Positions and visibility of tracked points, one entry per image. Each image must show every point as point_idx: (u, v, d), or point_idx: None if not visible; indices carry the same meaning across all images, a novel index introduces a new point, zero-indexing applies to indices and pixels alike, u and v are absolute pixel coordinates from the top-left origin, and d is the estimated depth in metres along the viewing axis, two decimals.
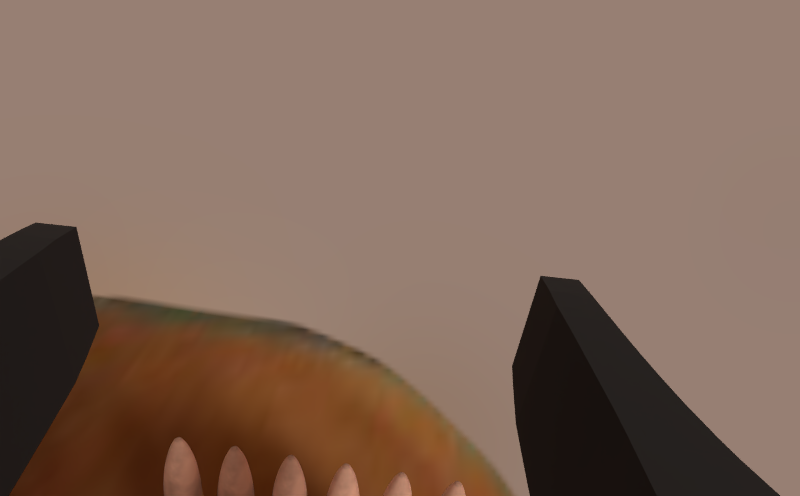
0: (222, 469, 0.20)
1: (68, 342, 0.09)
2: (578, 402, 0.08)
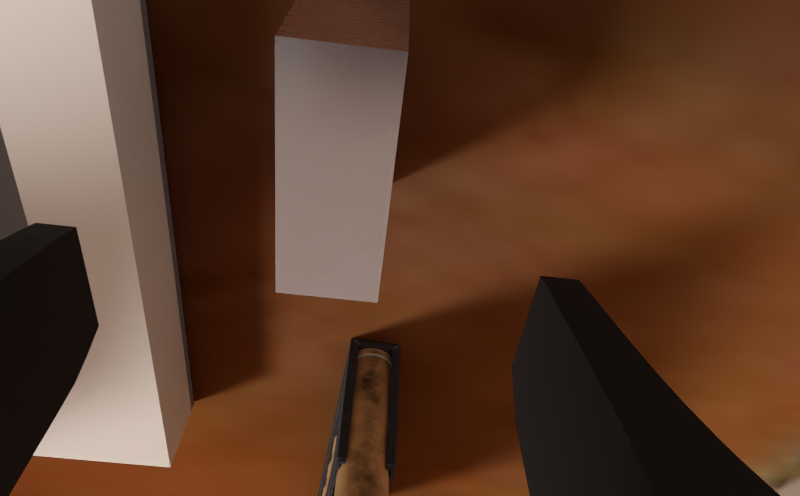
0: None
1: (68, 342, 0.09)
2: (578, 402, 0.08)
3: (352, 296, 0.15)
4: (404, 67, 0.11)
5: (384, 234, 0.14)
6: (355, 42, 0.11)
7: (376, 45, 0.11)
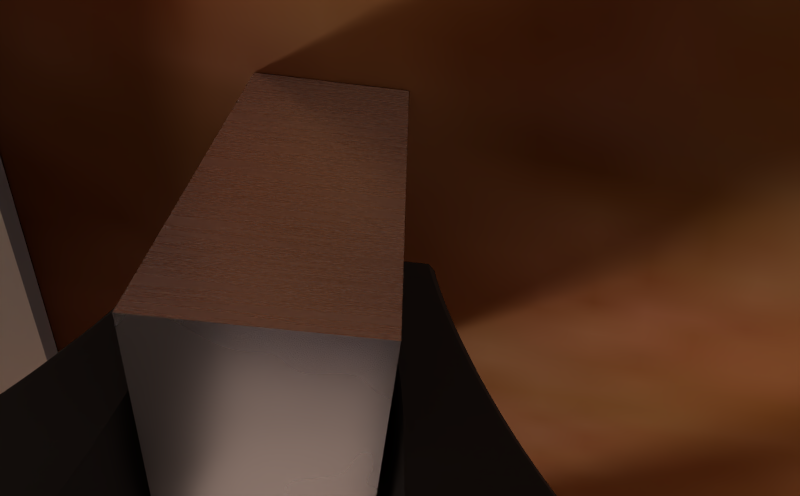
0: None
1: None
2: None
3: None
4: (393, 364, 0.05)
5: None
6: (289, 316, 0.05)
7: (333, 319, 0.05)
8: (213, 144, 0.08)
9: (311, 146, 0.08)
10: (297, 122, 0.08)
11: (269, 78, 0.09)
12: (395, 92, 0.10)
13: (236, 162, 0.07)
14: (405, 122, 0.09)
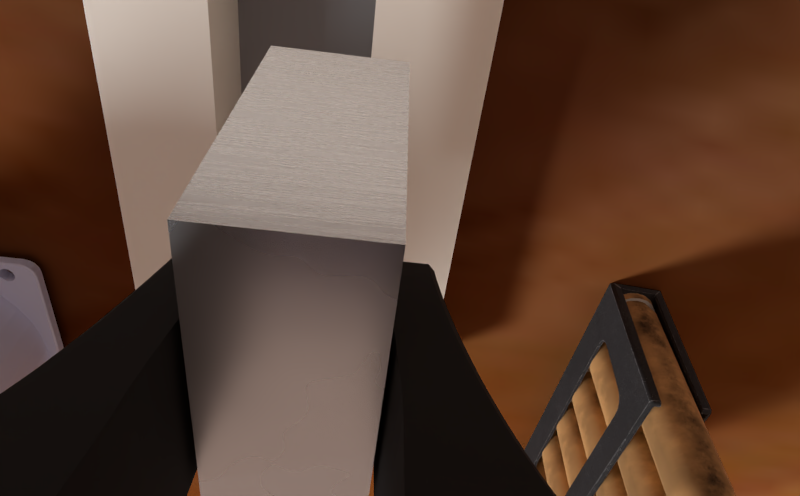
0: None
1: None
2: (391, 384, 0.08)
3: None
4: (398, 267, 0.07)
5: (368, 478, 0.09)
6: (311, 225, 0.06)
7: (349, 228, 0.06)
8: (240, 100, 0.09)
9: (325, 104, 0.09)
10: (312, 85, 0.09)
11: (285, 50, 0.11)
12: (397, 63, 0.11)
13: (261, 114, 0.08)
14: (407, 87, 0.10)
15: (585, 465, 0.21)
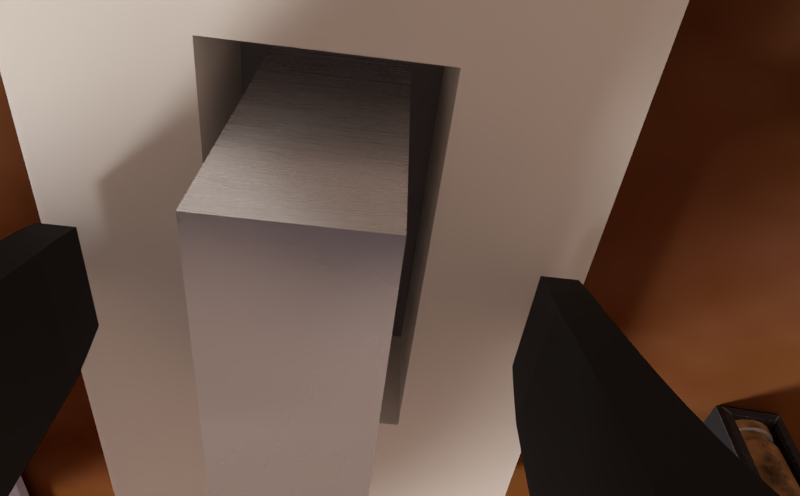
0: None
1: (68, 342, 0.09)
2: (578, 402, 0.08)
3: None
4: (399, 257, 0.07)
5: (370, 464, 0.09)
6: (316, 217, 0.07)
7: (352, 219, 0.07)
8: (244, 95, 0.09)
9: (328, 98, 0.09)
10: (315, 80, 0.10)
11: None
12: None
13: (266, 109, 0.09)
14: (408, 81, 0.10)
15: None
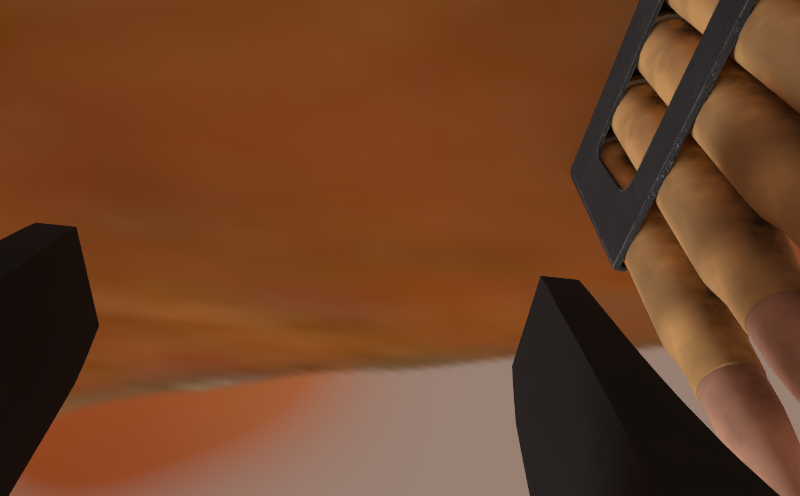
0: None
1: (68, 342, 0.09)
2: (578, 402, 0.08)
3: None
4: None
5: None
6: None
7: None
8: None
9: None
10: None
11: None
12: None
13: None
14: None
15: (710, 22, 0.13)
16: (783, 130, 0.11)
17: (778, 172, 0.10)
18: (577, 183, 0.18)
